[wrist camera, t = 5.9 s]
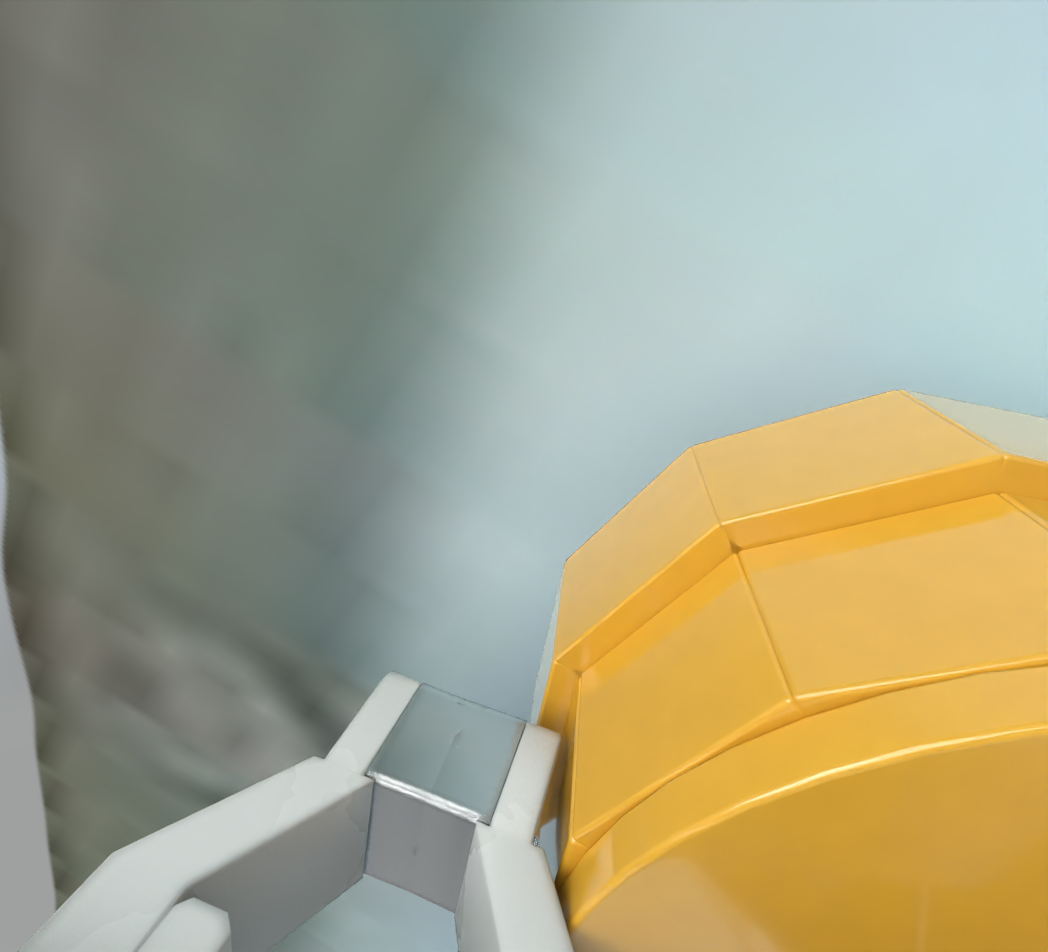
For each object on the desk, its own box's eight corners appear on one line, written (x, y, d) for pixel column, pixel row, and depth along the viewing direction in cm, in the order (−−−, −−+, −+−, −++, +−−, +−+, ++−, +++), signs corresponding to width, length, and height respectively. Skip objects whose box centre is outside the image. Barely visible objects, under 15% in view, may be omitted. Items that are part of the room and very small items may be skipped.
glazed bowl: (1405, 489, 8) (2693, 935, 3) (995, 933, 13) (1244, 1394, 8) (619, 332, 9) (637, 498, 4) (503, 815, 13) (440, 1178, 8)
